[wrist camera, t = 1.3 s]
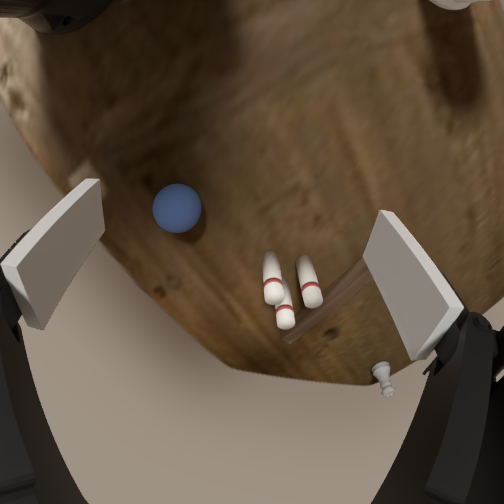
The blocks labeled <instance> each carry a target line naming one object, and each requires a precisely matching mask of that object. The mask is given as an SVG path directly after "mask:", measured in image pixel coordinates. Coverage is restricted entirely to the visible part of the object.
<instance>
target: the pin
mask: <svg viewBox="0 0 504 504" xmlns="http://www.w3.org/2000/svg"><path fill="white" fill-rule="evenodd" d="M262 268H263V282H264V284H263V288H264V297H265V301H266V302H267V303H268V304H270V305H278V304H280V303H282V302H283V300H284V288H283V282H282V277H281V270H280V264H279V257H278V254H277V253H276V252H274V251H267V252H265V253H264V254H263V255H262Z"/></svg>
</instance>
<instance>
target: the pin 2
mask: <svg viewBox="0 0 504 504" xmlns="http://www.w3.org/2000/svg"><path fill="white" fill-rule="evenodd" d="M295 264H296V268H297V273H298V277H299V282H300V286H301V293H302V296H303V300H304V304H305V306H306V307H308V308H316V307H318V306H320V305H321V304H322V302H323V298H322V294H321V289H320V286H319V284H318V280H317V277H316V274H315V270H314V267H313V264H312V260H311V258H310V257H309V256H307V255H301V256H299V257H298V258H297V259H296V261H295Z"/></svg>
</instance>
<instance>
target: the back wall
mask: <svg viewBox="0 0 504 504" xmlns="http://www.w3.org/2000/svg"><path fill="white" fill-rule="evenodd" d="M371 279H373V276H372V274H371V272H370V270H369V268H368V266H367V264H366V263H365V261H364V259H363V257H362V258H361V259H360V260H359V261H358V262H356V263H355V264H354V265H353V266H352V267H351V268H350V269H349V270H347V271H346V272H345V273H344V274H343V275H342V276H341V277H340V278H338V279H337V280H336V281H335V282H334V283H333V284H331V285H330V286H329V287H328V288H327V289H326V290H324V291H323V292H322V293H321V294H322V298H323V302H322V304H321V305H320V306H318V307H316V308H308V307H306V306H305V307H304V308H303V309H302V310H301V311H299V312H298V313H297V314H296V315H294V317H295V325H294V326H293V327H292V328H290V329H287V330H284V329H280V332H281V340H282V341H284V342H286V343H288V344H291V343H292V342H294V341H295V340H296V339H298V338H299V337H300V336H302V335H303V334H304V333H306V332H307V331H308V330H310V329H311V328H312V327H314V326H315V325H316V324H318V323H319V322H320V321H321V320H323V319H324V318H325V317H327V316H328V315H329V314H330V313H332V312H333V311H334V310H335V309H337V308H338V307H339V306H340V305H342V304H343V303H344V302H345V301H346V300H348V299H349V298H350V297H351V296H353V295H354V294H355V293H356V292H357V291H359V290H360V289H361V288H362V287H363V286H364V285H366V284H367V283H368V282H369V281H370V280H371Z"/></svg>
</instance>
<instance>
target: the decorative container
mask: <svg viewBox="0 0 504 504" xmlns="http://www.w3.org/2000/svg"><path fill="white" fill-rule="evenodd" d="M429 1H430V2H432V3H434V4H435V5H437V6H439V7H441V8H444V9H447V10H460V9H463V8H466V7H468V6H469V5H470V3H471V2H472V3H474V2H477V1H479V0H429ZM481 1H489V0H481Z"/></svg>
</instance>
